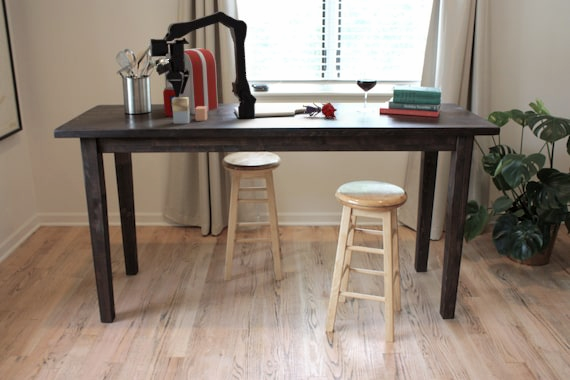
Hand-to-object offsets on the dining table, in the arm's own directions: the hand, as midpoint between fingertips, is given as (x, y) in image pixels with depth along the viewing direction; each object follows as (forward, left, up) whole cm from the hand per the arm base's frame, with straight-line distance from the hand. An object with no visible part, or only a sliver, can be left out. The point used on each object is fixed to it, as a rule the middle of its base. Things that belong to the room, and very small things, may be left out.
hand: (179, 95), depth 247 cm
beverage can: (+7, -16, -11) cm, 21 cm away
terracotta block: (-7, -7, -11) cm, 15 cm away
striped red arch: (+1, -32, -11) cm, 34 cm away
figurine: (-57, -8, -11) cm, 58 cm away
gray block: (0, 0, -11) cm, 11 cm away
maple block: (0, 0, -6) cm, 6 cm away
